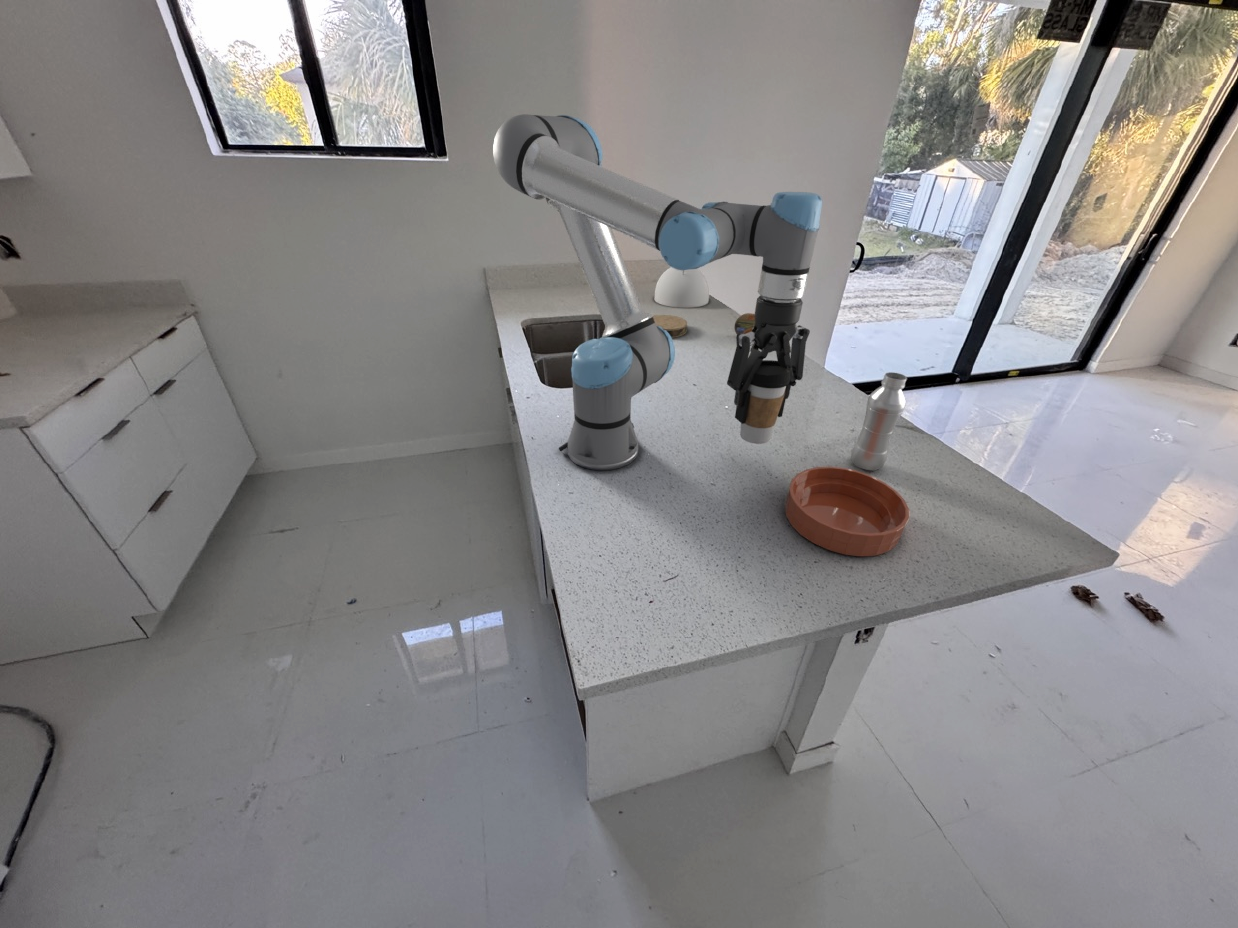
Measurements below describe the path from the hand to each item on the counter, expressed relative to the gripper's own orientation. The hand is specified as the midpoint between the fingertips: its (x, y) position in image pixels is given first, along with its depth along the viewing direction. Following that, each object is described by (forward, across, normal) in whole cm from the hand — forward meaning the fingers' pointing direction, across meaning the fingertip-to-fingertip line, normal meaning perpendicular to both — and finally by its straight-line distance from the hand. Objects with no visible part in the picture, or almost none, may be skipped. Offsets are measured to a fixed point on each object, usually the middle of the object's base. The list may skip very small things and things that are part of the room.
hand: (758, 416), depth 95 cm
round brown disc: (+11, +18, +84) cm, 87 cm away
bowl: (+12, +6, -20) cm, 24 cm away
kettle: (+11, +41, +118) cm, 126 cm away
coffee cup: (+5, 0, 0) cm, 5 cm away
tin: (+11, +44, +66) cm, 80 cm away
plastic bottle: (+12, +23, -8) cm, 27 cm away
